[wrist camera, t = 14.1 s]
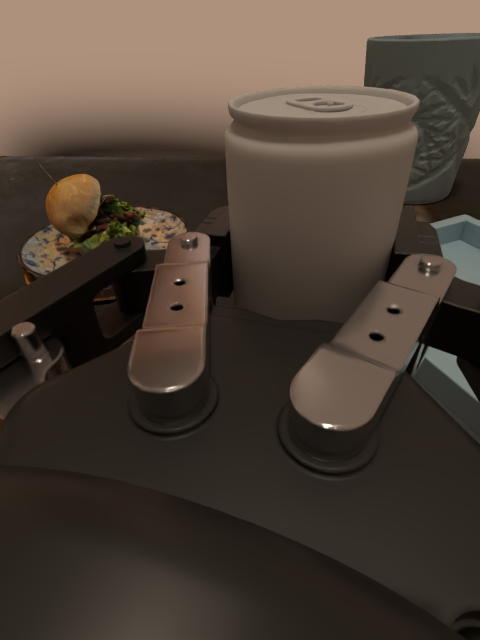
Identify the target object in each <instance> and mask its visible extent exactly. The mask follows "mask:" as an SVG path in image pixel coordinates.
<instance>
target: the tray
mask: <svg viewBox="0 0 480 640" xmlns="http://www.w3.org/2000/svg"><path fill="white" fill-rule="evenodd" d="M430 225H432V226H433V227H434V228H435V229H436V230H437V234H438V238H439V242H440V246H441V250H442V254H443V258H446V259H448V260H450V261H451V262H452V263H454V265H455V266H456V268H457V271H456V274H455V276H456V277H457V278H459V279H462V280H464V281H467V282H470V283H473V284H477V285H480V221H479V220H477V219H474V218H473V217H470V216H468V215H461V216H457V217H454V218H450V219H446V220H442V221H439V222H435V223H431V224H430ZM456 358H457V356H455V355H452V354H449V353H446V352H443V351H441V350H438V349H435V348H432V347H429V349H428V351H427V353H426V356H425V358H424V360H423V362H422V364H421V366H420V368H419V370H418V372H417V374H416V376H415V378H414V379H415V380H416V381H417V382H418V383H419V384H420V385H421V386H422V387H423V388H424V389H425V390H426V391H427V392H428V393H429V394H430V395H431V397H432V398H433V399H434V400H435V401H436V402H437V403H438V404H439V405H440V406H441V407H442V408H443V409H444V410H445V411H446V412H447V413H448V414H449V415H450V416H451V417H452V418H453V419H454V420H455V421H456V422H457V423H458V424H459V425H460V426H461V427H462V428H463V429H464V430H465V431H466V432H467V433H468V434H469V435H470V436H471V437H472V438H474V439H475V440H476V441H477V442H478V443H479V444H480V403H479V401H478V399H477V398H476V396H475V394H474V393H473V391H472V389H471V387H470V386H469V384H468V382H467V381H466V379H465V377H464V375H463V374H462V372H461V370H460V369H459V367H458V365H457V362H456Z"/></svg>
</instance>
